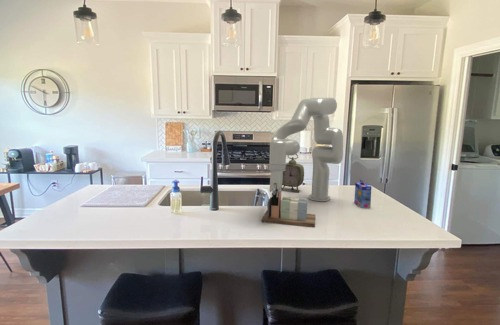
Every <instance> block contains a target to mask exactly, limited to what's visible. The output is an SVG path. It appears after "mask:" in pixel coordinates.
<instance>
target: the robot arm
mask: <svg viewBox="0 0 500 325" xmlns="http://www.w3.org/2000/svg"><path fill="white" fill-rule="evenodd" d="M337 108H338V103H337V100H336V99H335V97H311V98H304V99H302V100H300V102H299V103H298V105H297V108H296V109H295V112H294V113H293V115H292V117H291V119H290V120H289V121H287V122H286V123H284V124H283V125H282V126H281V127H279V128H278V129H277V130H276V131H275V134H274V135H273V137H272V139H271V141H270V142H269V164H268V165H269V166H268V167H269V169H268V170H269V171H270V177H269V192H270V193H271V205H272V206H278V199H279V197H278V192H280V191H281V192H282V190H281V189H282V188H283V185H282V182H283V171H285V167H286V164H287V162H286V161H287V160H286V159H287V156H296V155H295V154H297V155H298V153H299V151H300V144H299V142H298V141H297V140H295V139H288V138H287V137H289V136H291V135H294V134H297V133H300V132H302V131H304V130H306V128H307V126H308V125H309V123H310V120H311V118H312V119H313V131H314V132H313V136H314V141H315V143H317V144H320V145H317V146H315V147H313V149H312V151H311V157H312V177H311V178H312V180H311V194H309V195H308V199H309V200H311V201H315V202H329V201H331V196H329V187H330V186H329V182H330V167H329V165H328V164H332V165H338V164H341V163H342V161H343V157H344V134H343V131H342V130H341V128H339V127H337V128H336V127H330V117H329V115H332V114H334V113H335V112H336V111H337ZM327 145H329V146H327Z"/></svg>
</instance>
